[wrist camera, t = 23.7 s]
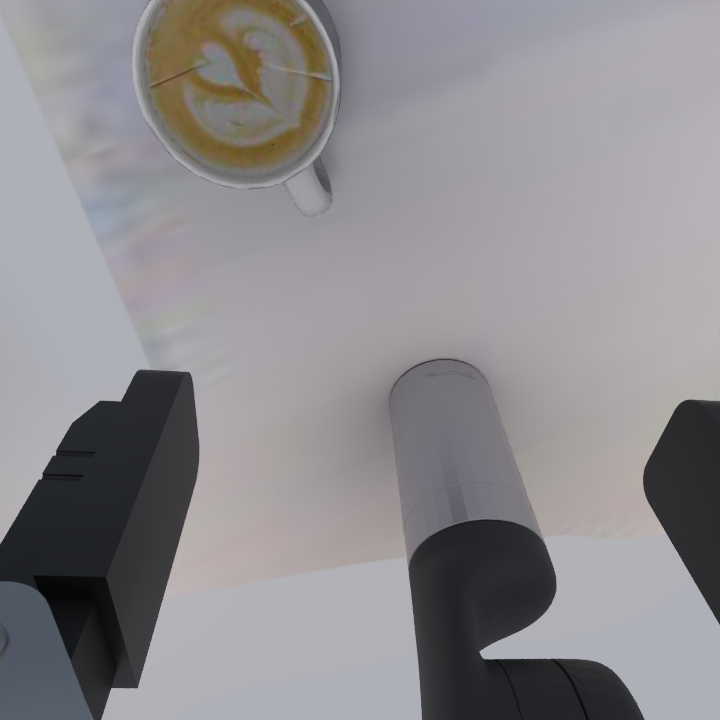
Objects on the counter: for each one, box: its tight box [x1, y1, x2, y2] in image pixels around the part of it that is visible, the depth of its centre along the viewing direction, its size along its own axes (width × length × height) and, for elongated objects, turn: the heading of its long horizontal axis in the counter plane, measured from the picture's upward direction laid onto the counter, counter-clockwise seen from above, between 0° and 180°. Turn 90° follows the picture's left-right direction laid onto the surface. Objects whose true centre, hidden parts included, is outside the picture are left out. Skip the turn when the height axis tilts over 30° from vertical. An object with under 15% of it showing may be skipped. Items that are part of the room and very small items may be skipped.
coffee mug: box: [132, 0, 341, 217], centre depth 32 cm, size 13×10×10 cm
